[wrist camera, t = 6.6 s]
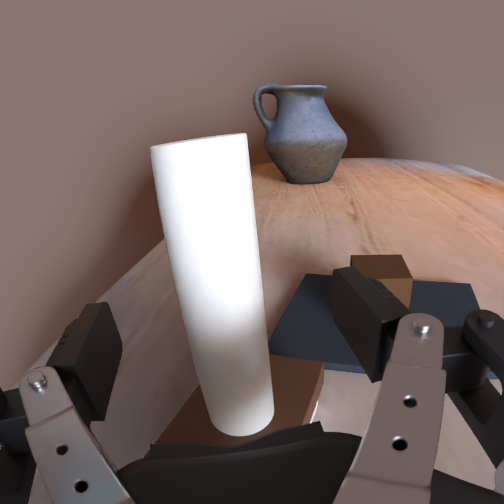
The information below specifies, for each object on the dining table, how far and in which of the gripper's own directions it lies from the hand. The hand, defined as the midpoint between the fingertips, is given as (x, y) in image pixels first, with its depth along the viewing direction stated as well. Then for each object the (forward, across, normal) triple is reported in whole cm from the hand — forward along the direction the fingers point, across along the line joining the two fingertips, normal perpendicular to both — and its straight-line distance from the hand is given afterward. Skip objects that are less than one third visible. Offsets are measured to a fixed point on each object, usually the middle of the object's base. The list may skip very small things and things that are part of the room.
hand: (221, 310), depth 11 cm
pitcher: (+68, -23, +9) cm, 72 cm away
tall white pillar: (0, 0, +8) cm, 9 cm away
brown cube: (+9, -11, +8) cm, 16 cm away
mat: (+8, -12, +8) cm, 17 cm away
